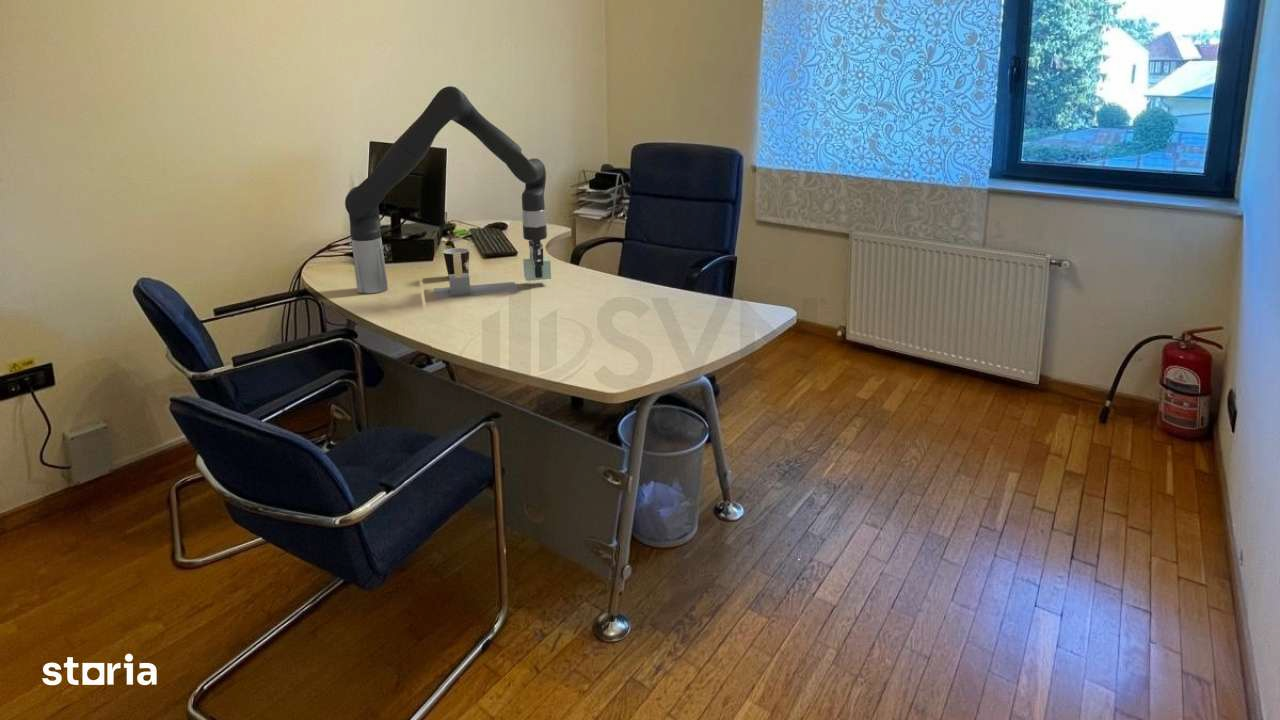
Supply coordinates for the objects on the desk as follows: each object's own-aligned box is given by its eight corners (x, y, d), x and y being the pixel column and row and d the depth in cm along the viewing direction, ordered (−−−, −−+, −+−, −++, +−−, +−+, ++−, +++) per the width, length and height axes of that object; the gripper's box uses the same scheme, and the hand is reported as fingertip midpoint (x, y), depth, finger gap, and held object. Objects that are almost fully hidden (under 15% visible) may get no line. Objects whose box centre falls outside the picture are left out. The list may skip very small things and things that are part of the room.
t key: (454, 270, 260) (452, 252, 258) (462, 269, 261) (460, 251, 258) (455, 281, 247) (453, 262, 245) (463, 281, 248) (461, 261, 246)
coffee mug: (457, 284, 267) (454, 255, 263) (440, 280, 272) (437, 251, 268) (483, 277, 276) (481, 248, 272) (466, 273, 281) (464, 245, 277)
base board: (435, 301, 249) (433, 283, 247) (434, 291, 260) (432, 273, 257) (519, 294, 255) (518, 276, 253) (514, 284, 266) (513, 267, 264)
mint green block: (526, 280, 258) (525, 262, 256) (524, 276, 263) (523, 259, 261) (551, 278, 260) (550, 260, 258) (548, 274, 265) (547, 257, 263)
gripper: (519, 220, 261) (522, 271, 267) (526, 228, 248) (529, 282, 254) (542, 218, 262) (545, 269, 269) (550, 227, 250) (552, 280, 256)
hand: (537, 275), depth 261 cm, fingers closed on mint green block, 5 cm apart
